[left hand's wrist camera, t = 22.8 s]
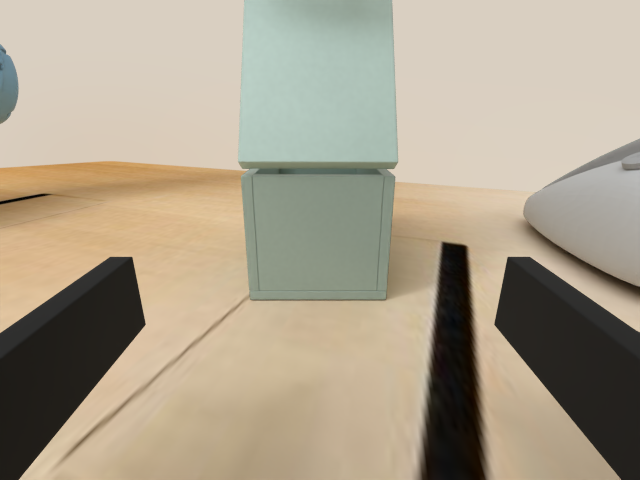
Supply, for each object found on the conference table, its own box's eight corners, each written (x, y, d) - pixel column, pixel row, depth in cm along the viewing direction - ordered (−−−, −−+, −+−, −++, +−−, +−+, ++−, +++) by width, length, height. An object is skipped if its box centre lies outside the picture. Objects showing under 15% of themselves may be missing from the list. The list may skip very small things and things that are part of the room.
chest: (276, 226, 42) (273, 148, 39) (359, 226, 42) (363, 149, 39) (249, 299, 26) (240, 175, 23) (386, 299, 26) (395, 176, 23)
